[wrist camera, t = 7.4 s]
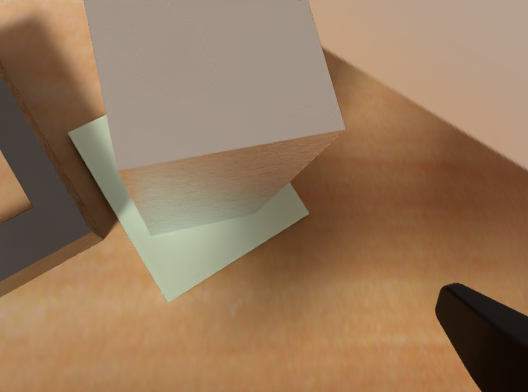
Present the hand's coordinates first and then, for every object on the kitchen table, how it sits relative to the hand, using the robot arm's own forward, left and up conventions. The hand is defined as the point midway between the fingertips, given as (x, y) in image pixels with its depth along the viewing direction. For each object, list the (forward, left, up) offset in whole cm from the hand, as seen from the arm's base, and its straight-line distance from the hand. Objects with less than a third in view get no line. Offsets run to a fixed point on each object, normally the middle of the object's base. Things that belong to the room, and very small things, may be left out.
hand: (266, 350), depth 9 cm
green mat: (+6, -2, -8) cm, 10 cm away
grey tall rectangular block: (+6, -2, -8) cm, 10 cm away
